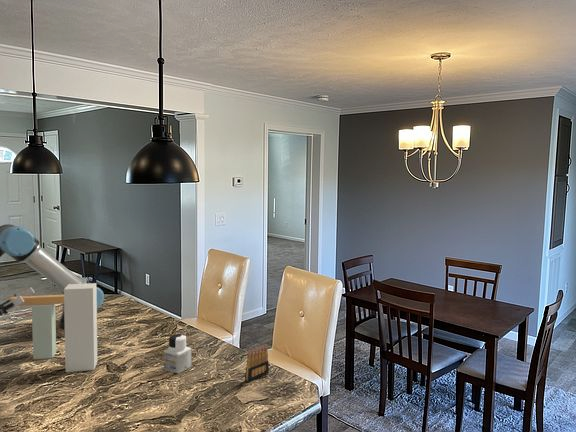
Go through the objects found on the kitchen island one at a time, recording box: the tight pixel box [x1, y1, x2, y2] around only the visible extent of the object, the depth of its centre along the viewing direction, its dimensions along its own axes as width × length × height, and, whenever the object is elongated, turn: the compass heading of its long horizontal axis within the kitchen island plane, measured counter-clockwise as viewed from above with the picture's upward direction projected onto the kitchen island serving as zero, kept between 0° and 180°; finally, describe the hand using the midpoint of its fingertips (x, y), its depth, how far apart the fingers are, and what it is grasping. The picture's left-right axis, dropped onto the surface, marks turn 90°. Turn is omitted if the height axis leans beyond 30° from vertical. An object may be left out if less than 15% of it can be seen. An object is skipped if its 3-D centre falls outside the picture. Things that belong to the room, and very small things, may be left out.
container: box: [163, 333, 192, 375], centre depth 170 cm, size 8×8×13 cm
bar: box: [9, 294, 64, 307], centre depth 176 cm, size 3×21×3 cm, turn 105°
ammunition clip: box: [244, 343, 270, 383], centre depth 164 cm, size 11×2×12 cm, turn 138°
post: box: [64, 282, 98, 373], centre depth 168 cm, size 8×10×32 cm
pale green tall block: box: [31, 304, 57, 360], centre depth 177 cm, size 6×7×22 cm
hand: (27, 294), depth 175 cm, fingers open, 13 cm apart
